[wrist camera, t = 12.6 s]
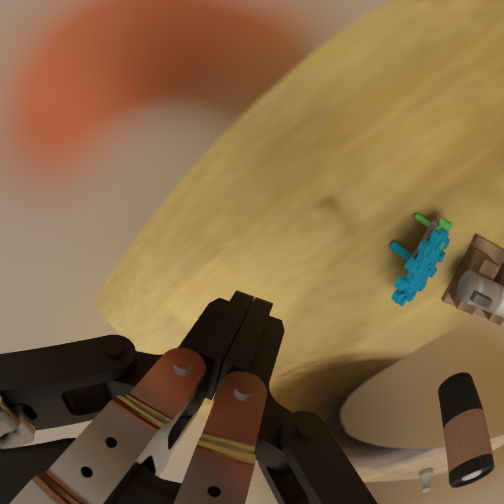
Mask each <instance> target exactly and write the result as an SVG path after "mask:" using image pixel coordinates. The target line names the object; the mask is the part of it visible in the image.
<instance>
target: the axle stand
mask: <svg viewBox="0 0 504 504" xmlns="http://www.w3.org/2000/svg"><path fill="white" fill-rule="evenodd" d="M441 299H442V301H443V302H445V303H448V304H450V305H453V306H456V308H457V309H459V310H462V311H465V312H467V313H470V314H473V313H474V314H477V315H480V316H482V317H485V318H487V319H488V320H489V321H491V322H494V323H496V324H499V325H501V323H502V322H503V320H504V250H503V249H502V248H500V247H498V246H497V245H495V244H493V243H491V242H490V241H488V240H486V239H484V238H482V237H481V236H479V235H477V234H475V236H474V238H473V240H472V242H471V244H470V246H469V248H468V251H467V253H466V255H465V257H464V259H463V261H462V263H461V264H460V266H459V268H458V270H457V272H456V274H455V276H454V278H453V279H452V281H451V283H450V285H449V286H448V288H447V290H446V292H445V293H444V295H443V297H442V298H441Z"/></svg>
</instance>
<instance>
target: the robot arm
mask: <svg viewBox="0 0 504 504" xmlns="http://www.w3.org/2000/svg"><path fill="white" fill-rule="evenodd" d="M272 306H273V303H271V302H268V301H265V300H263V299H260V298H257V297H255V299H254V296H251V295H248V294H246V293H243V292H240V291H236V292H235V293H234V295H233V297H232V298H231V300H230V301H227V300H224V299H222V298H218V299H216V300H214V301H212V302H210V303H209V304H208V306H207V307H206V308H205V310H204V311H203V314H201V316H200V317H199V318H198V321H196V323H195V324H194V326H193V327H192V328H191V330H190V331H189V333H188V334H187V336H186V337H185V338H184V340H183V341H182V343H181V344H180V346H179V347H178V348H174V349H171V350H169V351H167V352H166V353H164V354H163V355H154V354H148V353H143V352H138V351H136V350H135V346H134V345H133V343H132V342H131V341H130V340H129V339H127V338H126V337H123V336H120V335H107V336H102V337H98V338H92V339H88V340H82V341H77V342H71V343H66V344H61V345H55V346H49V347H43V348H38V349H32V350H25V351H19V352H12V353H5V354H0V504H245V502H246V497H247V494H248V490H249V486H250V482H251V478H252V474H253V470H254V466H255V461H256V460H258V464H259V466H260V468H261V470H262V472H263V474H264V476H265V478H266V480H267V482H268V484H269V486H270V488H271V490H272V492H273V494H274V496H275V498H276V500H277V502H278V503H279V504H377V502H376V501H375V499H374V498H373V496H372V495H371V493H370V492H369V490H368V489H367V487H366V486H365V484H364V483H363V481H362V480H361V478H360V476H359V475H358V473H357V472H356V470H355V469H354V467H353V466H352V464H351V463H350V461H349V460H348V458H347V456H346V455H345V453H344V452H343V450H342V449H341V447H340V445H339V444H338V442H337V441H336V439H335V438H334V436H333V434H332V433H331V431H330V430H329V428H328V426H327V425H326V423H325V422H324V421H323V419H322V418H320V417H319V416H318V415H316V414H314V413H311V412H307V411H298V412H295V413H292V412H290V411H289V410H287V409H286V408H284V407H283V406H281V405H280V404H278V403H277V402H276V401H275V399H274V398H273V397H272V395H271V393H270V389H269V382H270V378H271V375H272V371H273V368H274V365H275V362H276V358H277V355H278V352H279V348H280V345H281V341H282V338H283V334H284V331H285V330H284V327H283V323H282V320H280V319H277V318H274V317H271V316H269V314H270V311H271V308H272ZM215 392H216V393H215ZM214 394H215V397H214V400H213V401H214V403H213V406H212V408H211V411H210V414H209V416H208V419H207V422H206V425H205V427H204V430H203V432H202V435H201V437H200V438H199V441H198V443H197V446H196V448H195V451H194V453H193V456H192V459H191V461H190V464H189V466H188V469H187V471H186V474H185V477H184V479H183V482H182V483H177V482H172V481H168V480H164V479H161V478H159V475H160V474H161V472H162V471H163V469H164V468H165V466H166V464H167V462H168V460H169V457H170V455H171V453H172V451H173V450H174V448H175V447H176V445H177V444H178V442H179V441H180V439H181V438H182V436H183V434H184V433H185V432H186V430H187V428H188V427H189V425H190V424H191V422H192V421H193V419H194V418H195V416H196V414H197V412H198V410H199V408H200V406H201V405H202V403H203V401H204V399H205V398H207V399H210V400H212V398H213V396H214ZM90 420H93V421H92V422H91V423H90V424H89V425H88V426H87V427H86V428H85V429H84V431H83V432H82V433H81V434H80V435H79V436H78V437H77V438H66V439H61V440H56V441H51V442H46V443H41V444H35V445H29V446H22V447H19V446H21V445H24V444H27V443H31V442H32V441H33V440H34V434H35V430H42V429H48V428H54V427H60V426H65V425H71V424H76V423H80V422H85V421H90ZM116 445H117V446H116Z"/></svg>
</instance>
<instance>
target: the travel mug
mask: <svg viewBox="0 0 504 504" xmlns="http://www.w3.org/2000/svg"><path fill="white" fill-rule="evenodd" d="M438 394H439V401H440V407H441V414H442V421H443V429H444V437H445V444H446V452H447V461H448V471H449V484H450V485H451V487H452V488H457V487H461V486H465V485H468V484H471V483H473V482H475V481H477V480H479V479H481V478H483V477H485V476H486V475H488V474H489V473H490V472H491V471H493V469H494V461H493V454H492V448H491V443H490V438H489V433H488V428H487V424H486V419H485V415H484V412H483V408H482V405H481V402H480V399H479V396H478V393H477V390H476V387H475V385H474V382H473V379H472V377H471V375H470V374H468V373H458V374H455V375H453V376H451V377H449V378H448V379H446V380H445V381H444V382H443V383H442V384H441V386H440V387H439V390H438Z"/></svg>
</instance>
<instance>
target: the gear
mask: <svg viewBox="0 0 504 504" xmlns="http://www.w3.org/2000/svg"><path fill="white" fill-rule="evenodd" d="M415 219H416V220H418V221H419V222H421V223H422V224H424V225H425V226H427V227H428V229H427V231H426V233H425V234H424V236H423V238H422V239H421V241H420V243H419V244H418V246H417V248H416V249H415V251H414V253H413V254H411V253H410V252H409V251H407V250H406V249H405V248H403V247H402V246H401V245H399V244H398V243H397V242H395V241H394V242H393V243H392V244H391V246H390V248H391V249H392V250H393V251H395V252H396V253H397V254H398V255H400V256H401V257H402V258H403V259H405V260H406V261H407V263H406V264H405V266H404V268H405V269H407V270H408V271H409V272H408V275H407V276H406V277H405V278H403V277H402V276H400V277H399V278H398V280H397V281H396V283H395V285H394V287H396V288H397V289H398V290H396V291H395V292H394V293H393V295H392V300H393V301H394V302H395V303H398V304H399V305H400V306H403V305H404V304H405V302H406V301H408V302H410V301H412V300H413V299H414V297H415V295H416V293H417V291H419V292H421V291H422V290H423V289H424V288H425V286H426V282H427V279H428V277H429V276H430V277H431V278H432V277H433V275H434V274H435V273H436V271H437V269H436V268H435V265H436V263H437V261H439V262H441V261H442V260H443V258H444V256H445V253H444V252H443V251H442V250H443V249H446V248H447V246H448V244H449V241H450V240H449V239H448V232H449V231H450V229H451V228H452V225H453V224H452V223H451V222H449V221H448V220H446V219H445V218H442V219H441V220H440V222H437V221H436V220H434V221H432V222H430V221H429V220H427V219H426V218H424V217H423V216H421V215H420V214H418V213H417V214H416V215H415ZM444 229H445V230H444ZM447 231H448V232H447Z"/></svg>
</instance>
